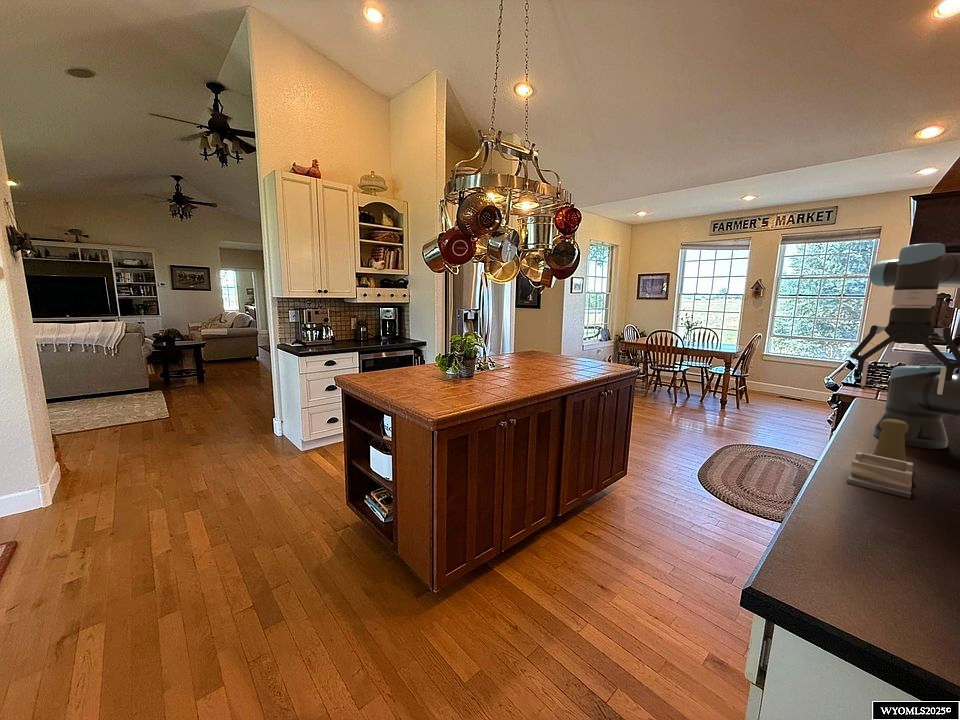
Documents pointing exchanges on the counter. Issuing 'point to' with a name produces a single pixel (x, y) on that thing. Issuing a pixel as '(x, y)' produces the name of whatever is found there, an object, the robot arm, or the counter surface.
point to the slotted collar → (881, 474)
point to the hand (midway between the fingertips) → (899, 389)
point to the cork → (892, 439)
